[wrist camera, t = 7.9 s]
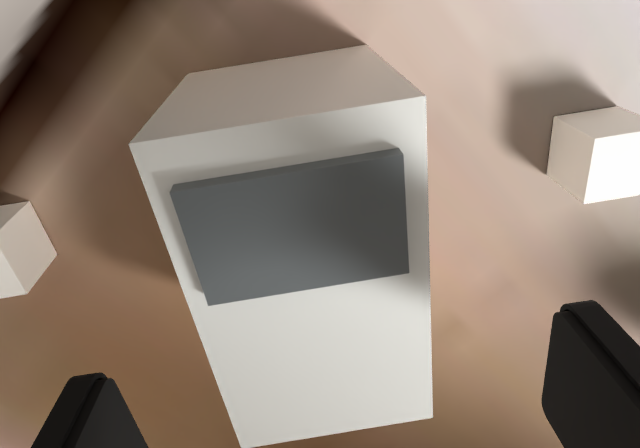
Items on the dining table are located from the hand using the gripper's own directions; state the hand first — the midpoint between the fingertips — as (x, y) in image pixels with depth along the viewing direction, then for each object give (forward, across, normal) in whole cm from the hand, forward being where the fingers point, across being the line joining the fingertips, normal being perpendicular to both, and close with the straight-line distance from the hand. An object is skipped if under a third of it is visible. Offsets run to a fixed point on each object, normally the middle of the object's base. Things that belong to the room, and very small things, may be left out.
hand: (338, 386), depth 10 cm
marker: (+9, +12, -1) cm, 15 cm away
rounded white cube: (+9, -10, -1) cm, 14 cm away
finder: (+9, 0, 0) cm, 9 cm away
